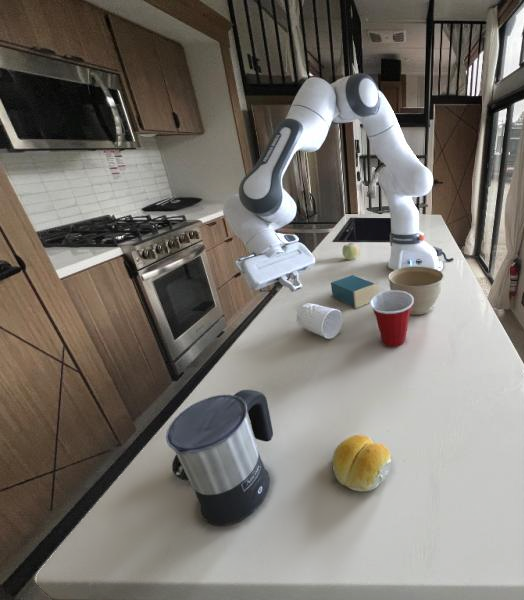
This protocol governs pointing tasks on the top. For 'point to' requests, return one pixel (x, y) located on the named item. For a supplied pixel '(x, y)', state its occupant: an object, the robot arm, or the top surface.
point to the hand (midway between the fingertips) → (297, 289)
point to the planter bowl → (418, 286)
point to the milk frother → (223, 454)
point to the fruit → (350, 251)
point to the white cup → (320, 320)
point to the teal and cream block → (354, 290)
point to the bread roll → (361, 463)
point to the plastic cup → (392, 315)
